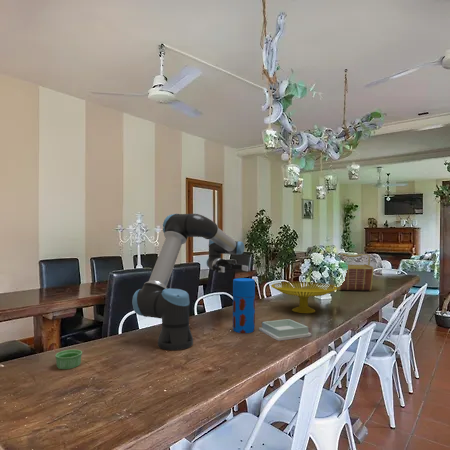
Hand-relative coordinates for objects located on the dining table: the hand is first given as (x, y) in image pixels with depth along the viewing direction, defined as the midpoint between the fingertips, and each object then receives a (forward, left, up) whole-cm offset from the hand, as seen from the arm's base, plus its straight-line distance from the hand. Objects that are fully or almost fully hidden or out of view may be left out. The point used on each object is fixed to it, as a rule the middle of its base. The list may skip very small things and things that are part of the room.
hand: (236, 269), depth 185 cm
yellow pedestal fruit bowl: (+53, +15, -29) cm, 62 cm away
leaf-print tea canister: (0, -10, -29) cm, 31 cm away
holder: (+16, -22, -29) cm, 40 cm away
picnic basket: (+137, +65, -29) cm, 154 cm away
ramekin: (-79, -27, -29) cm, 88 cm away
